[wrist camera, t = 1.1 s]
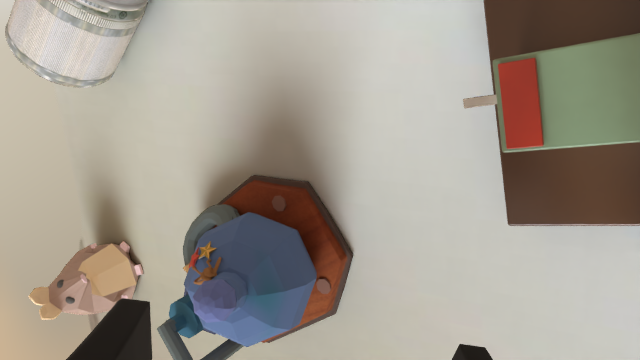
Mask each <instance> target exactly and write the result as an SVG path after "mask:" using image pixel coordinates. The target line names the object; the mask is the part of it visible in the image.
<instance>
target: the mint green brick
mask: <svg viewBox="0 0 640 360" xmlns="http://www.w3.org/2000/svg"><path fill="white" fill-rule="evenodd" d="M493 71H494V80H495V89H496V98H497V108H498V117H499V126H500V135H501V145H502V151H503V152H504V153H509V152H521V151H534V150H547V149H559V148H572V147H585V146H597V145H610V144H622V143H635V142H640V33H638V34H632V35H627V36H621V37H616V38H610V39H605V40H599V41H593V42H588V43H582V44H577V45H571V46H566V47H560V48H555V49H549V50H544V51H538V52H532V53H527V54H521V55H516V56H510V57H505V58H499V59H495V60H493Z"/></svg>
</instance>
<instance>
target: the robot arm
mask: <svg viewBox="0 0 640 360" xmlns="http://www.w3.org/2000/svg"><path fill="white" fill-rule="evenodd" d="M66 360H152V344H151V321H150V302H147V301H140V300H132V299H125V298H122V299H120V300H118V301H117V302H116V304H115V305H114V306H113V307H112V308H111V310H110V311H109V312H108V313H107V314H106V316H105V317H104V318H103V319H102V320H101V322H100V323H99V324H98V325H97V326H96V327H95V329H94V330H93V331H92V332H91V333H90V334H89V335H88V336H87V338H86V339H85V340H84V341H83V342H82V343H81V344H80V345H79V347H77V349H76V350H75V351H74V352H73V353H72V354H71V355H70V356H69V357H68V358H67V359H66ZM452 360H493V359H492V358H491V356H490V354H489V353H488V351H487V350H486V348H485V347H478V346H470V345H463V344H459V346H458V348H457V350H456V352H455V354H454V356H453V358H452Z"/></svg>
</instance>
